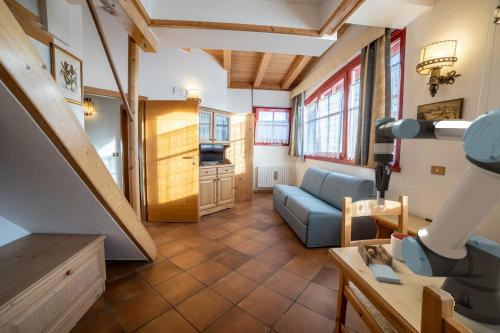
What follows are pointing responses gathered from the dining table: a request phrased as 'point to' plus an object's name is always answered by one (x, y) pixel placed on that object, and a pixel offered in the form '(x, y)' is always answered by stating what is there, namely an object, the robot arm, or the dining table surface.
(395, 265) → the dining table surface
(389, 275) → the cover slab
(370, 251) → the ball
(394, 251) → the cup
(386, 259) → the walnut box
